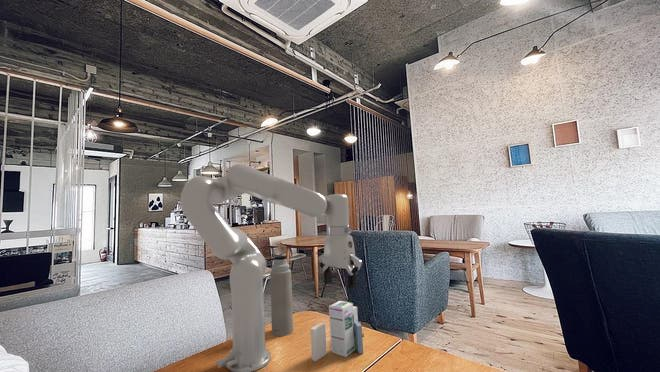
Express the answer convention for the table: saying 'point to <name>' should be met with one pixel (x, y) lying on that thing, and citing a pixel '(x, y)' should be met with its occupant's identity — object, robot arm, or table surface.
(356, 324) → the door
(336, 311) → the syrup box
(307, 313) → the table surface
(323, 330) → the wall
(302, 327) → the table surface
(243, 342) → the robot arm
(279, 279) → the thermos bottle
